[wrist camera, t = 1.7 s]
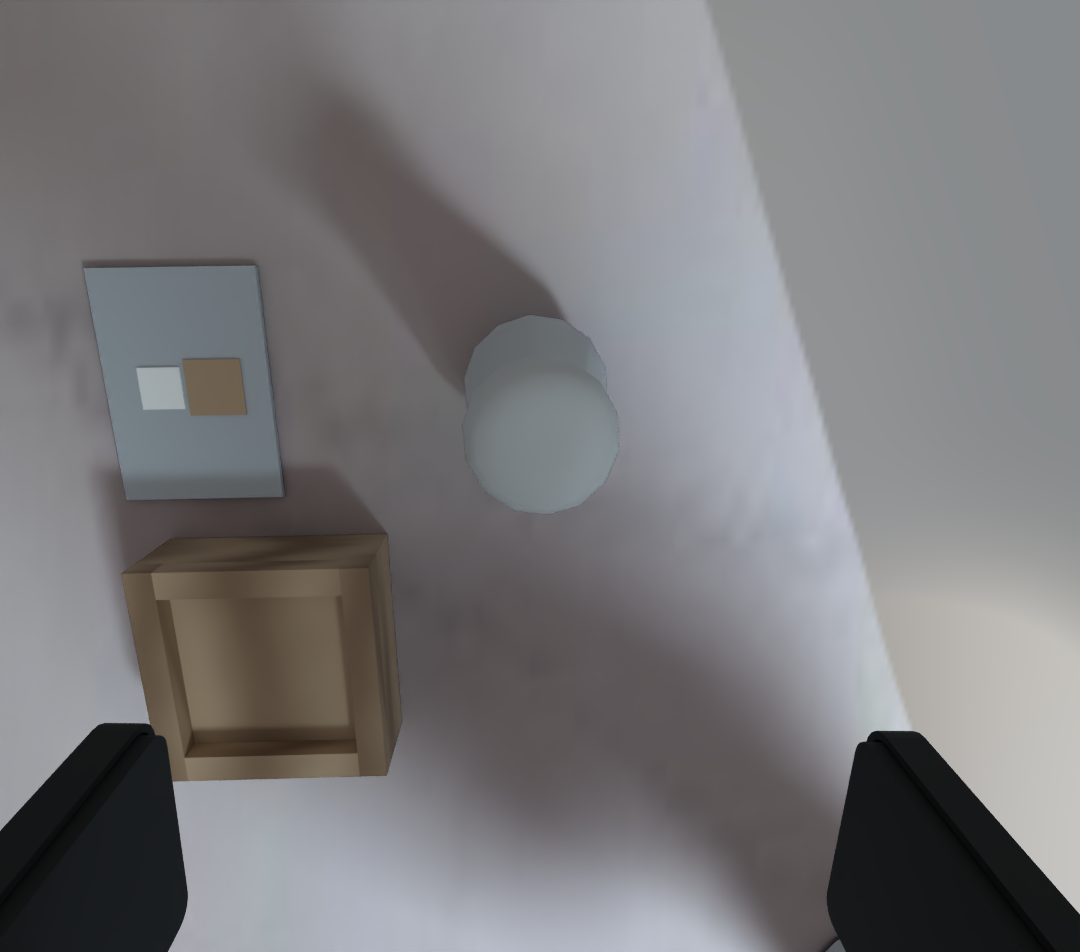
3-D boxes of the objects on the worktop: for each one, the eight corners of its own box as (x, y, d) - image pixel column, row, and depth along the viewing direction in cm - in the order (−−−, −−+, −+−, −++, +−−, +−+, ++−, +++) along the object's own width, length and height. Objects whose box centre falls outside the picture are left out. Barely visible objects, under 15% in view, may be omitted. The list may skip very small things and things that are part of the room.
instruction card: (257, 265, 29) (253, 265, 28) (284, 495, 31) (281, 497, 31) (87, 268, 29) (81, 268, 28) (129, 498, 31) (125, 500, 31)
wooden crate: (387, 534, 32) (368, 568, 28) (402, 720, 35) (386, 775, 31) (170, 538, 32) (121, 573, 28) (201, 726, 34) (161, 781, 31)
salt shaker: (604, 439, 31) (657, 544, 18) (477, 450, 31) (444, 562, 18) (596, 306, 29) (648, 321, 17) (462, 318, 29) (415, 341, 17)
